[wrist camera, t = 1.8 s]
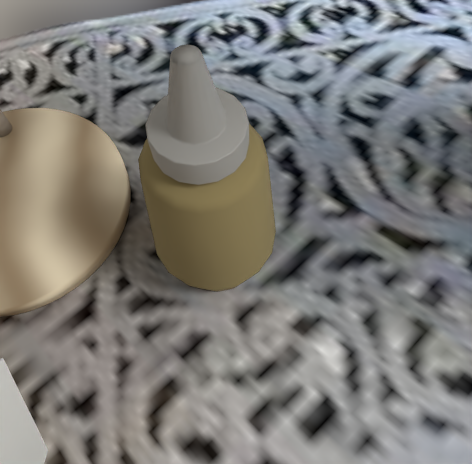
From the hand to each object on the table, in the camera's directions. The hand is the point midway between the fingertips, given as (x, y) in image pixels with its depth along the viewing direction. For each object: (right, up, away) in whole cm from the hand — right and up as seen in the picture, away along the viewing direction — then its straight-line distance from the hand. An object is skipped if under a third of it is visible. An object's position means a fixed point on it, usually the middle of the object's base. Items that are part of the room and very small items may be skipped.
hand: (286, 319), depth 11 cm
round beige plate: (-19, +4, +24) cm, 30 cm away
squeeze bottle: (-3, 0, +21) cm, 22 cm away
